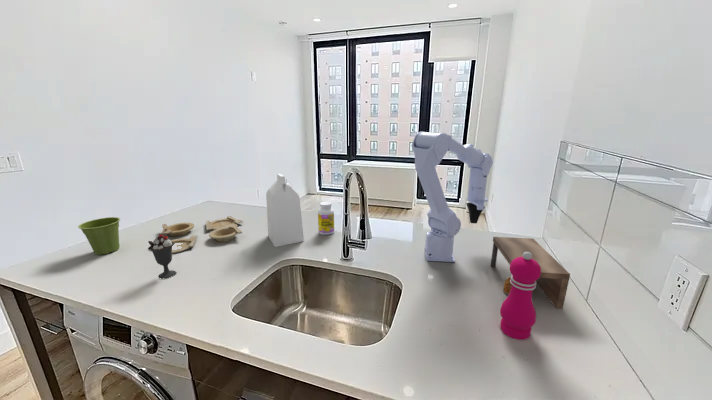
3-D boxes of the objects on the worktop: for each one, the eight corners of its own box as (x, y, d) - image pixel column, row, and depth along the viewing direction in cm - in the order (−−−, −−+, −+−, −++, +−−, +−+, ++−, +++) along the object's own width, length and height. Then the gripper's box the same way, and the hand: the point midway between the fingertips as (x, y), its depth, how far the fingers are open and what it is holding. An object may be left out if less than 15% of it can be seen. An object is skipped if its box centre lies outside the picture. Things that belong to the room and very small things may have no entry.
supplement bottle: (319, 236, 125) (318, 206, 121) (317, 230, 131) (316, 201, 127) (335, 234, 126) (334, 204, 123) (333, 228, 133) (332, 200, 129)
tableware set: (238, 218, 148) (238, 210, 147) (253, 239, 124) (252, 229, 122) (153, 233, 130) (151, 224, 129) (150, 260, 106) (148, 250, 105)
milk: (268, 235, 126) (262, 173, 118) (295, 230, 131) (291, 170, 123) (274, 246, 115) (268, 179, 108) (304, 240, 120) (300, 176, 113)
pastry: (521, 302, 81) (523, 290, 80) (496, 292, 86) (497, 280, 85) (534, 289, 87) (536, 277, 86) (510, 280, 92) (511, 268, 91)
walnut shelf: (513, 305, 80) (518, 271, 77) (489, 264, 101) (493, 236, 98) (562, 308, 78) (570, 274, 75) (528, 266, 99) (533, 238, 96)
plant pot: (127, 241, 121) (121, 214, 118) (126, 252, 112) (119, 223, 109) (88, 249, 115) (80, 220, 112) (84, 261, 105) (75, 231, 102)
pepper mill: (491, 321, 74) (502, 245, 68) (520, 319, 75) (533, 244, 69) (508, 342, 67) (522, 260, 61) (539, 340, 68) (555, 259, 62)
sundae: (184, 271, 98) (176, 227, 94) (165, 282, 92) (156, 236, 88) (169, 268, 100) (160, 225, 96) (149, 278, 94) (139, 233, 90)
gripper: (495, 192, 101) (490, 230, 104) (483, 182, 114) (479, 216, 118) (472, 191, 101) (469, 229, 105) (464, 181, 115) (460, 215, 119)
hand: (473, 222), depth 112 cm, fingers closed
